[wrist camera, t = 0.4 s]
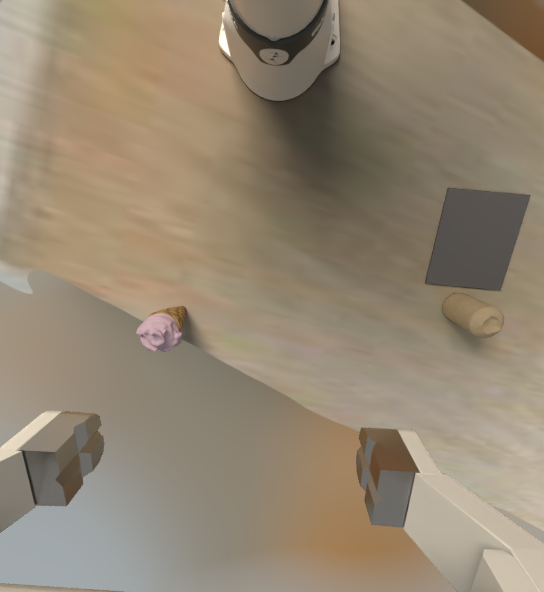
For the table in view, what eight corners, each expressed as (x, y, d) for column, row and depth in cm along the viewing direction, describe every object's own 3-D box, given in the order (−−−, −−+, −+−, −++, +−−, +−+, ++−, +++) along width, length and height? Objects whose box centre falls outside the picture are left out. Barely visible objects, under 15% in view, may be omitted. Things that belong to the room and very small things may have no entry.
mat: (447, 188, 50) (448, 187, 50) (529, 195, 50) (530, 195, 49) (425, 283, 55) (425, 283, 54) (499, 289, 54) (500, 290, 54)
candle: (477, 301, 55) (518, 319, 46) (459, 324, 57) (495, 347, 47) (453, 287, 55) (490, 303, 45) (436, 312, 56) (467, 332, 46)
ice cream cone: (203, 301, 57) (177, 330, 43) (196, 329, 59) (168, 366, 44) (171, 291, 57) (133, 317, 42) (165, 319, 59) (126, 354, 44)
